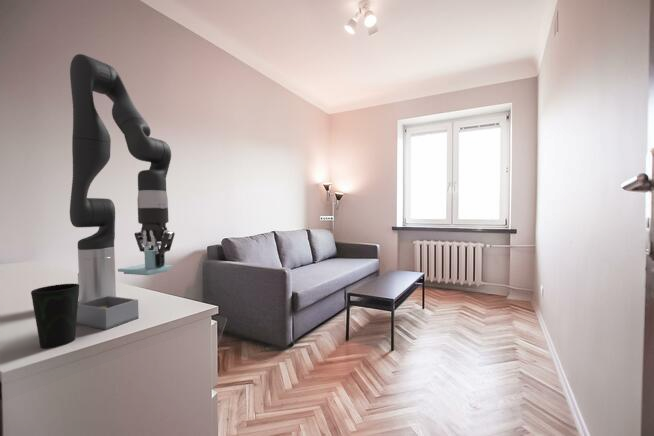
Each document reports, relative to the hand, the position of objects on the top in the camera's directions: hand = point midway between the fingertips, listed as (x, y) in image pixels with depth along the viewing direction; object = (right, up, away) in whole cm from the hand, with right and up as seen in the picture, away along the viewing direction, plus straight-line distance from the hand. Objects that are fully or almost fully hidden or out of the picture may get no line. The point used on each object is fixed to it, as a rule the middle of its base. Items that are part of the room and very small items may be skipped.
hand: (155, 266), depth 84 cm
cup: (-9, -13, -21) cm, 26 cm away
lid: (-4, -2, +1) cm, 4 cm away
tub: (-7, -13, -8) cm, 17 cm away
